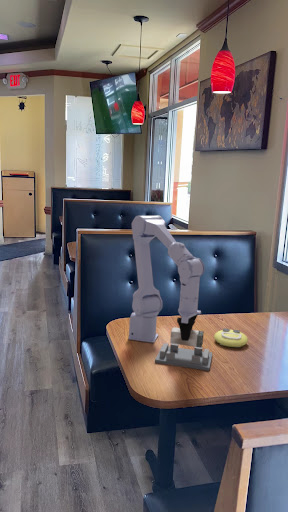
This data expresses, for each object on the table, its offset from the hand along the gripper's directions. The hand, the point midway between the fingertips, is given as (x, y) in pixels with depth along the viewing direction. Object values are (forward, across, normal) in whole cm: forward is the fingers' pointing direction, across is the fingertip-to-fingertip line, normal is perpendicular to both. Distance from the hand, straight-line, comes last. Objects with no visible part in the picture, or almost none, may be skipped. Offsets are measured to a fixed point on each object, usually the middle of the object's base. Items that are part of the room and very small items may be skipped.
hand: (186, 337), depth 135 cm
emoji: (+8, +20, -14) cm, 26 cm away
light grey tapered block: (+2, 0, 0) cm, 2 cm away
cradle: (+7, 0, 0) cm, 7 cm away
